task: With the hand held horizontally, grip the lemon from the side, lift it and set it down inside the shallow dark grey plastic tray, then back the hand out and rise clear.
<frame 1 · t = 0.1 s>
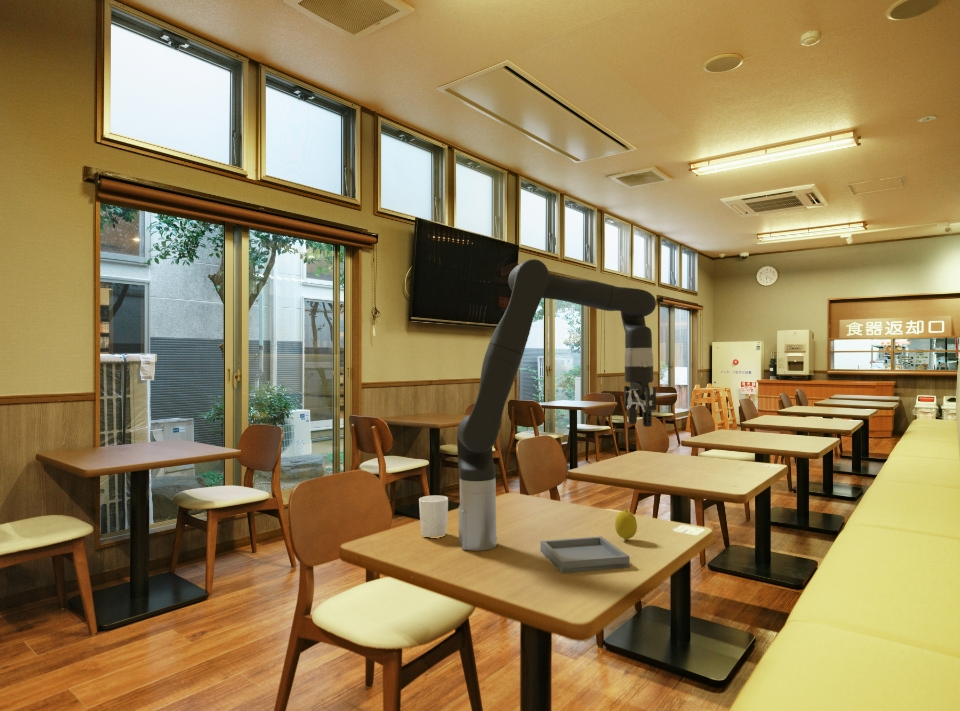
hand: (639, 424, 161), 29 cm above the table, tool pointing down, fingers open, 8 cm apart
white cup: (434, 536, 161), on the table
tray: (583, 558, 140), on the table
lemon: (626, 541, 154), on the table
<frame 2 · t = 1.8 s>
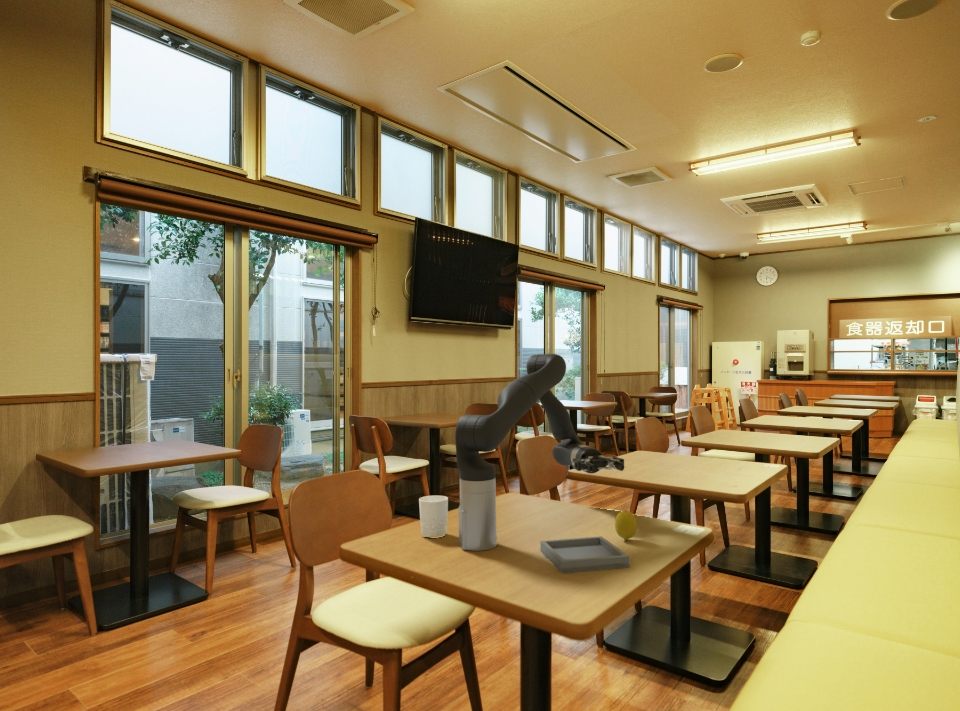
hand: (607, 467, 165), 17 cm above the table, tool horizontal, fingers open, 8 cm apart
nothing on the table moved.
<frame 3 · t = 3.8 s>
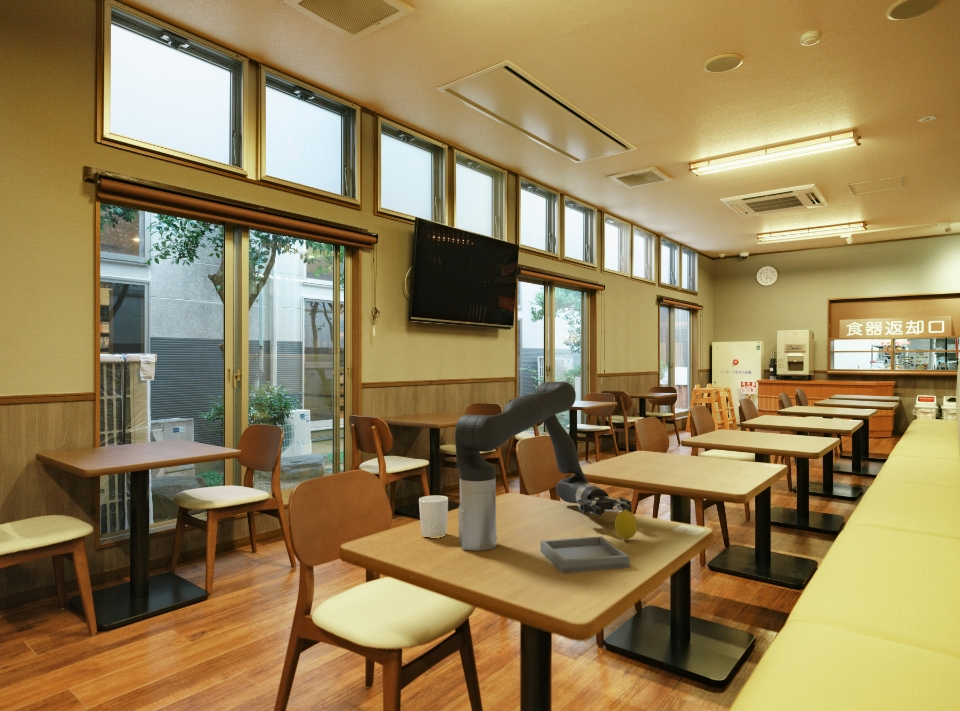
hand: (615, 511, 160), 6 cm above the table, tool horizontal, fingers open, 8 cm apart
nothing on the table moved.
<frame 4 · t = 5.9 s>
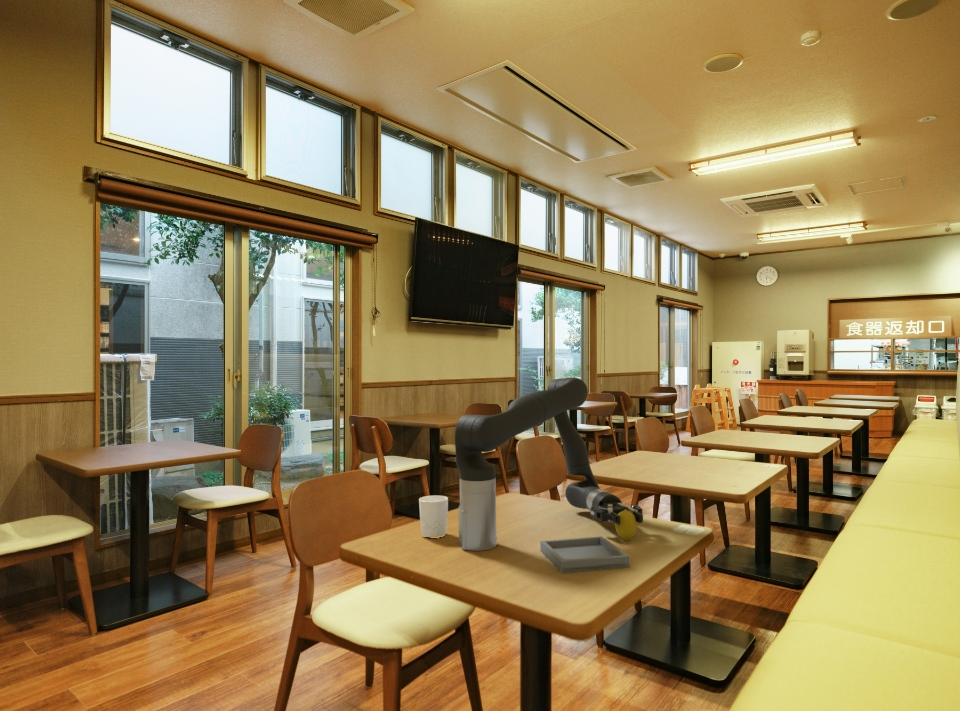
hand: (630, 519, 151), 6 cm above the table, tool horizontal, fingers closed on lemon, 5 cm apart
lemon: (626, 541, 154), on the table, touching gripper
everything else where it was.
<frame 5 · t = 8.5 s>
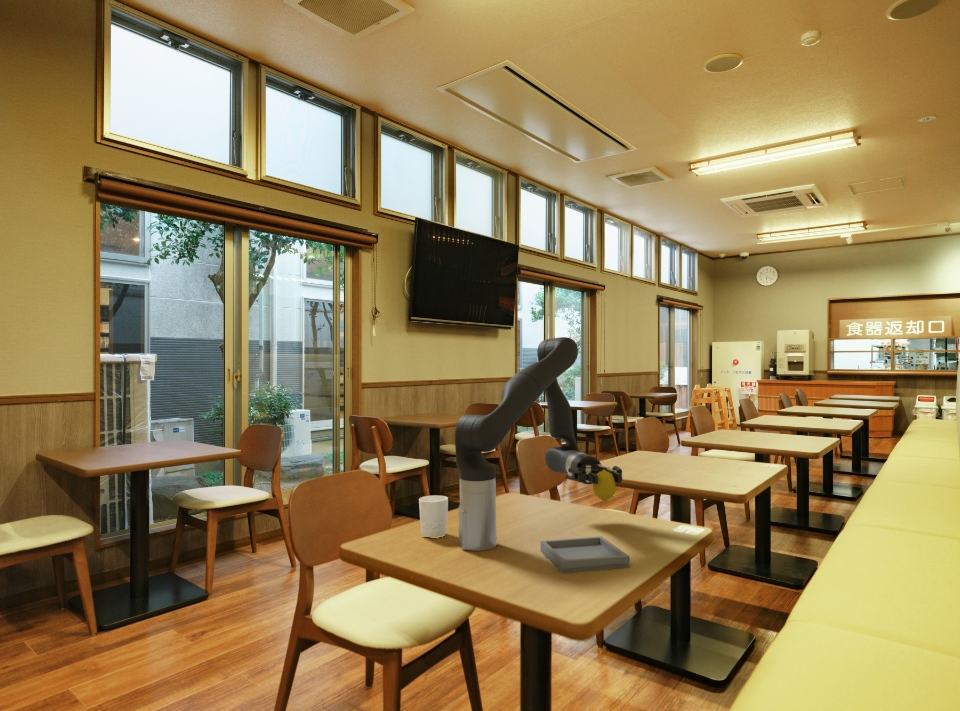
hand: (608, 479, 145), 18 cm above the table, tool horizontal, fingers closed on lemon, 5 cm apart
lemon: (604, 502, 147), point 11 cm above the table, touching gripper
everything else where it was.
when the fingers open (8 cm above the table, at t = 11.4 s): lemon drops 1 cm, resting on tray.
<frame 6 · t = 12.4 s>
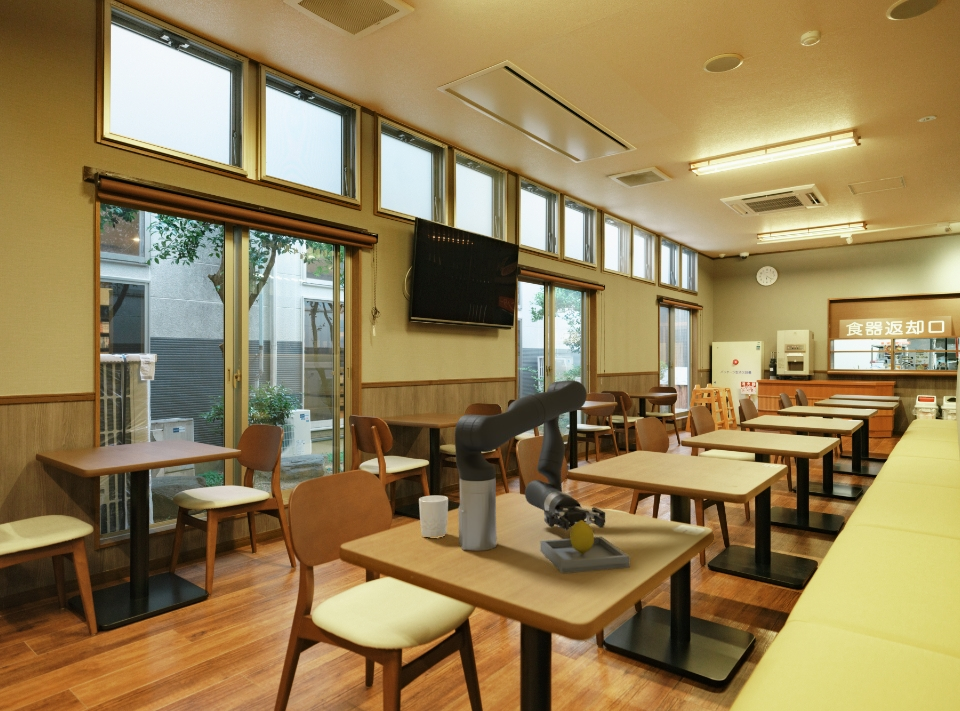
hand: (585, 524, 138), 8 cm above the table, tool horizontal, fingers open, 8 cm apart
lemon: (582, 555, 140), point 1 cm above the table, touching tray
everything else where it was.
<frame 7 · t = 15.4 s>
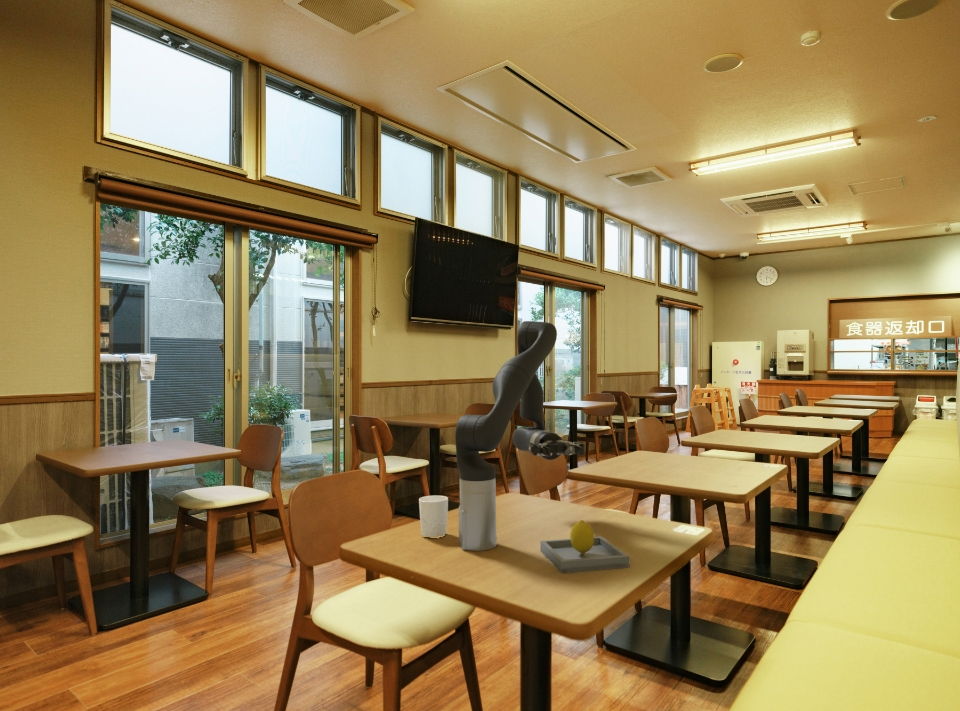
hand: (565, 451, 151), 24 cm above the table, tool horizontal, fingers open, 8 cm apart
nothing on the table moved.
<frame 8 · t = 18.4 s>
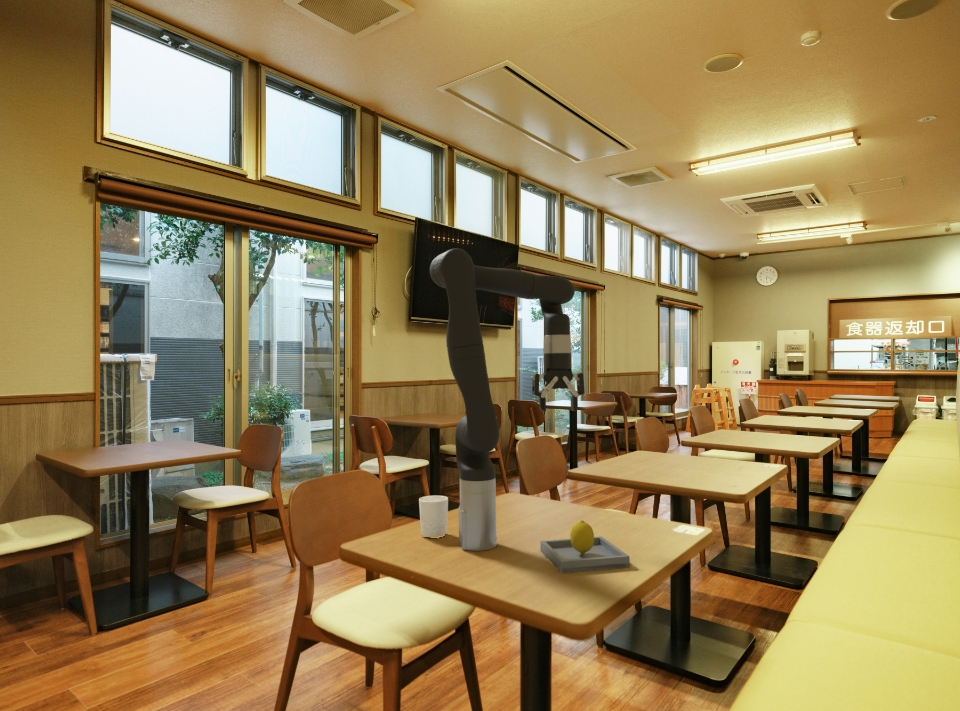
hand: (558, 411, 162), 33 cm above the table, tool pointing down, fingers open, 8 cm apart
nothing on the table moved.
at the end: lemon inside the target area on the tray (0.1 cm from its centre), point 0.8 cm above the tray's base; the gripper is holding nothing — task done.
